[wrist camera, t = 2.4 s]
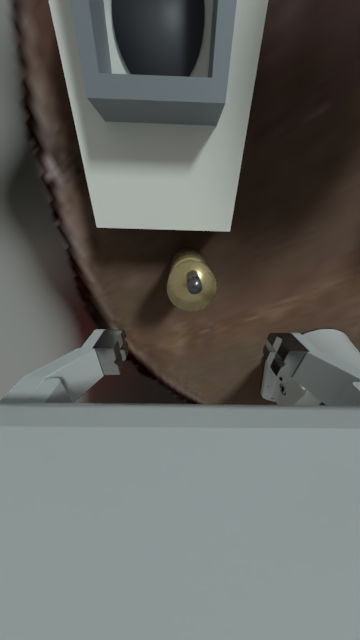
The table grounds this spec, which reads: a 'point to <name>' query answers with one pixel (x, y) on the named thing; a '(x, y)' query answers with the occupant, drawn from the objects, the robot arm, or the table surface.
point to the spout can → (190, 281)
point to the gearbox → (161, 105)
